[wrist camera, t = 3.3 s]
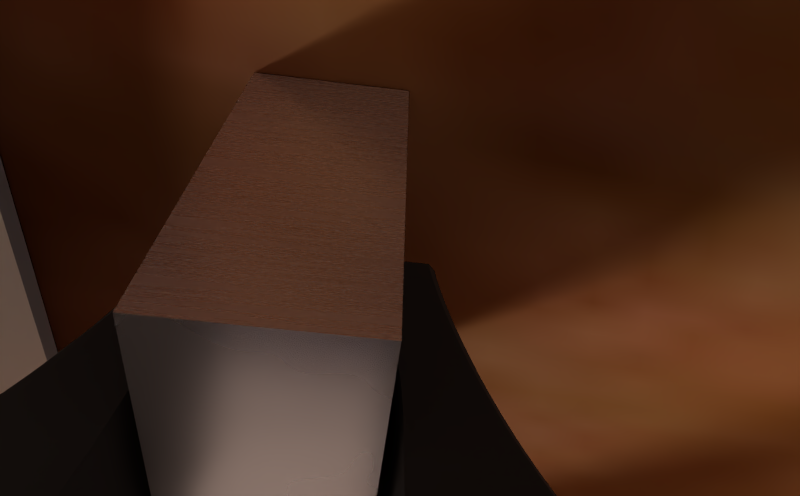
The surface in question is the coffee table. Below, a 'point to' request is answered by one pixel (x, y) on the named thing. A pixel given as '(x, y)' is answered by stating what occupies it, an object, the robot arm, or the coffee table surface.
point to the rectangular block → (275, 299)
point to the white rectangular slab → (19, 301)
